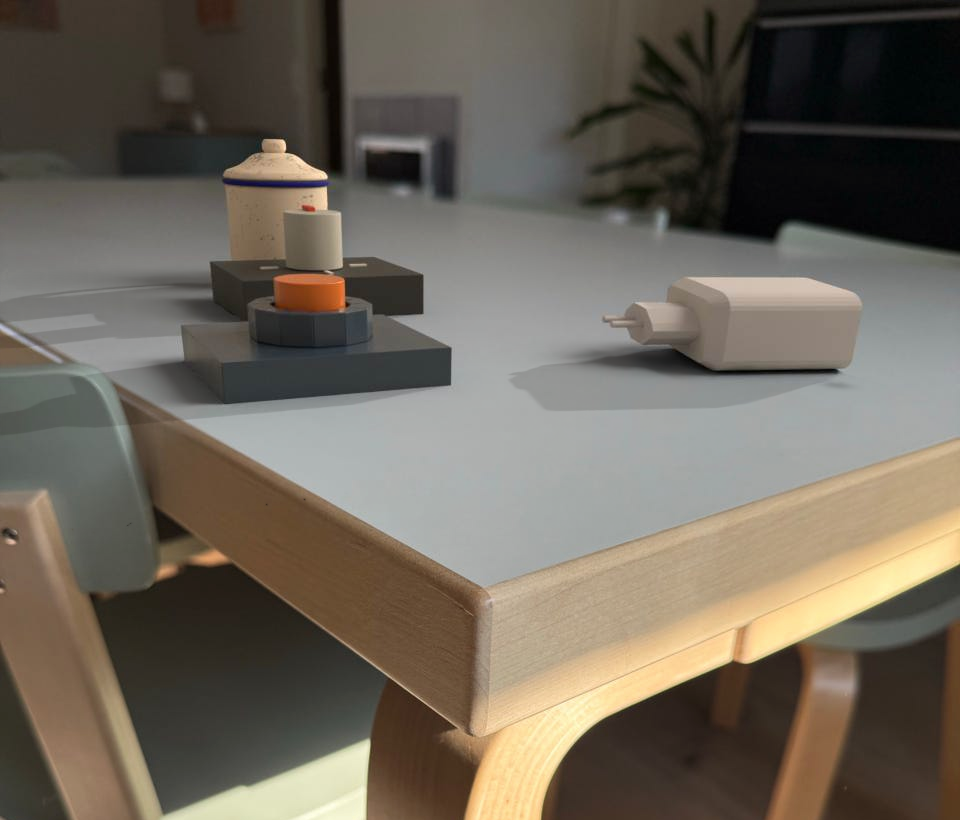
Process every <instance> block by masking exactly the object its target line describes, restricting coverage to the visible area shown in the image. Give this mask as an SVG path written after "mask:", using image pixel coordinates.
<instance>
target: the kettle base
mask: <svg viewBox="0 0 960 820" xmlns="http://www.w3.org/2000/svg"><path fill="white" fill-rule="evenodd" d="M342 258H343V267H342V268H340V269H336V270H326V271H307V270H296V269H290V268H288V267H286V259H277V260H241V261H232V260H211V261H209V268H210V278H211V279H210V280H211V288H212V290H211V291H212V299H213V301H214V302H216V304H219V305H220V306H221V307H222V308H224V309H225V310H227V311H228V312H229V313H231V314H232V315H234V316H235V317H236V318H237V319H239V320H241V322H246V321H248V309H247V304H248V303H250V302H252V301H254V300H255V299H258V298H264V297H270V296H274V281H273V280H274V278H275V277H278V276H282V275H290V274H324V275H333V276H338V277H342V278H344V280H345V296H347V297H353V298H360V299H363V300H365V301H367V302H369V303H371V304H372V315H381V314H383V315H385V316H387V317H397V316H414V315H416V316H417V315H424V309H425V307H424V306H425V305H424V300H425V299H424V295H425V294H424V292H425V291H424V290H425V289H424V287H425V286H424V285H425V284H424V283H425V282H424V281H425V280H424V277H425V275H424V274H423V273H421V272H418V271H415V270H412V269H409V268H406V267H404V266H401V265H398V264H395V263H392V262H389V261H387V260H384V259H381V258H378V257H376V256H357V257H355V256H354V257H353V256H352V257H342Z"/></svg>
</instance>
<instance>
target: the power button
mask: <svg viewBox="0 0 960 820" xmlns="http://www.w3.org/2000/svg"><path fill="white" fill-rule="evenodd" d="M273 281H274V296H275V308H281V309H288V310H304V311H318V310H334V309H340V308H345V280H344V278H342V277H338V276H333V275H324V274H290V275H282V276H278V277H275V278H274V280H273Z"/></svg>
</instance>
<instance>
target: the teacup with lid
mask: <svg viewBox="0 0 960 820" xmlns="http://www.w3.org/2000/svg"><path fill="white" fill-rule="evenodd" d="M261 148H262V149H261V150H262V151H263V152H257V153H254V154H251V155H250V156H248V157H247V158H246V159H245V160H244V161H242V162H241V163H240V164H238V165H236V166H232V167H230V168H227V169H225V170H224V172H223V174H222V179H221V182H222V183H223V184H224V186H225V197H226V198H225V199H226V209H227V221H228V223H227V224H228V233H229V234H228V235H229V246H230V247H229V248H230V257H231V261H241V260H277V259H286V256H285V240H284V223H283V211H285V210H295V209H302V205H310V206H312V207H315V209H318V210H329V209H328V207H329V206H328V187H327V186H329V185H330V181H329V180H328V177H329V176H328V174H327V173H326V172H325V171H323V170H320V169H318V168H316V167H313V166H311V165H310V164H308V163H306V162H305V161H304V160H303V159H302V158H300V157H299V156H297V155H295V154H294V153H293V154H292V153H288V152H286V151H287V145H286V141H285V140H284V139H278V138H277V139H275V138H273V139H272V138H264V139H263V140H262V142H261Z"/></svg>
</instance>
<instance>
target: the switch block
mask: <svg viewBox="0 0 960 820" xmlns="http://www.w3.org/2000/svg"><path fill="white" fill-rule="evenodd" d="M247 309H248V321H246V322H243V321H230V322H229V321H227V322H210V323H190V324H181V325H180V332H181V342H182V351H183V361H184V362H185V363H186V364H187V366H188V367H189V368H191V370H193V372H194V373H195V375H197V376H198V378H200V379H201V381H202V382H203V383H204V384H205V385H206V386H207V387H208V388H209V389H210V390H211V391H212V392H213V393H214V394H215V396H216V397H217V398H219V400H220V401H221V402H222V403H223V404H224V405H236V404H245V403H258V402H259V403H260V402H271V401H279V400H280V401H284V400H294V399H307V398H319V397H329V396H341V395H352V394H354V395H355V394H365V393H378V392H388V391H390V392H391V391H400V390H401V391H402V390H412V389H424V388H435V387H447V386H449V387H450V386H452V358H453V357H452V353H453V351H452V349H453V347H452V346H450V345H447V344H445V343H443V342H441V341H439V340H437V339H436V338H433V337H431V336H429V335H427V334H425V333H422V332H420V331H418V330H416V329H414V328H412V327H410V326H408V325H406V324H403V323H402V322H399V321H397V320H395V319H394V318H391V317H390V316H385V315H383V314H381V315H372V304H371V303H369V302H367V301H365V300H363V299H360V298H353V297H347V296H345V308H340V309H334V310H318V311H304V310H288V309H281V308H275V296H270V297H264V298H258V299H255V300H254V301H252V302H250V303H248V304H247Z"/></svg>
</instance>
